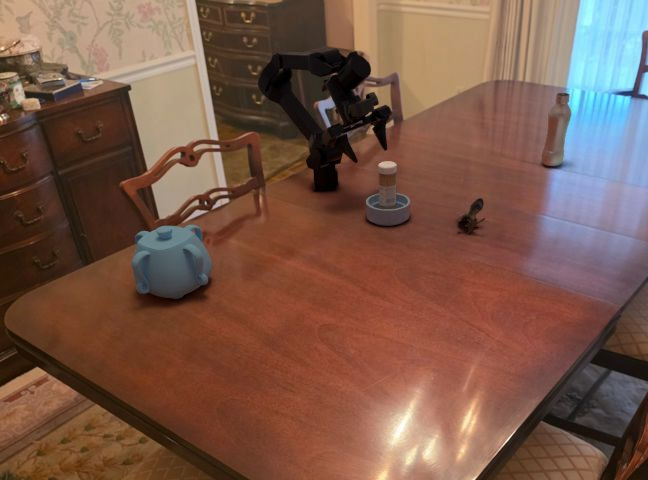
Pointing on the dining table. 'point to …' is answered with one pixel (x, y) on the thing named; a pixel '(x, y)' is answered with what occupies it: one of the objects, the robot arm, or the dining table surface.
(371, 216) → the bowl
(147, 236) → the decorative pot
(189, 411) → the dining table surface
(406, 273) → the dining table surface
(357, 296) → the dining table surface
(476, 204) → the eagle figurine
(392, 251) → the dining table surface
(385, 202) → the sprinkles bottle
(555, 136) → the plastic bottle
